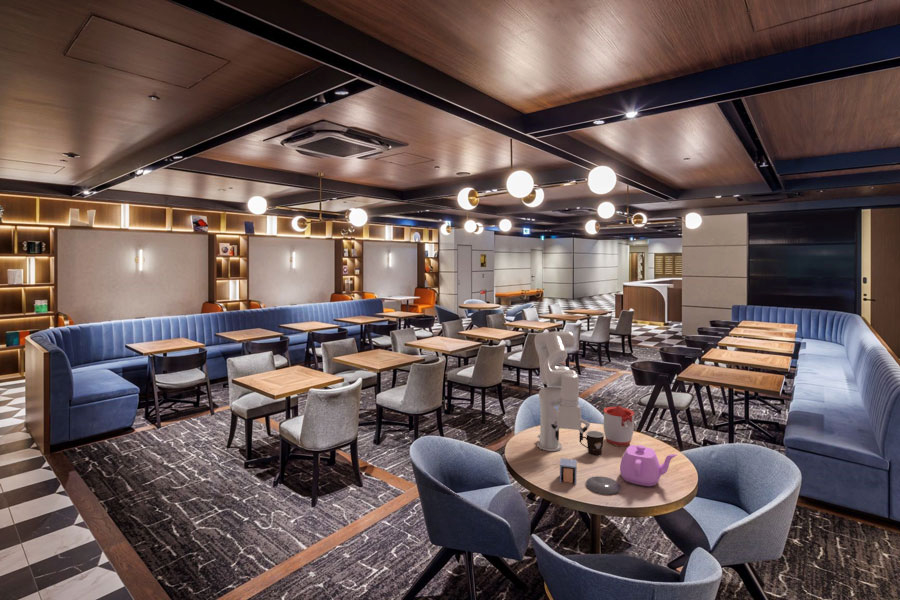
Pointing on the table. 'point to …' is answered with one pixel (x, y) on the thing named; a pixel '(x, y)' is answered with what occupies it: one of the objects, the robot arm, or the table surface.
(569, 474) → the terracotta block
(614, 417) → the red and white bucket
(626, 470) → the teapot
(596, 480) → the charcoal dish
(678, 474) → the table surface
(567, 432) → the table surface
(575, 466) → the grey angular piece
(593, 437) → the coffee mug
